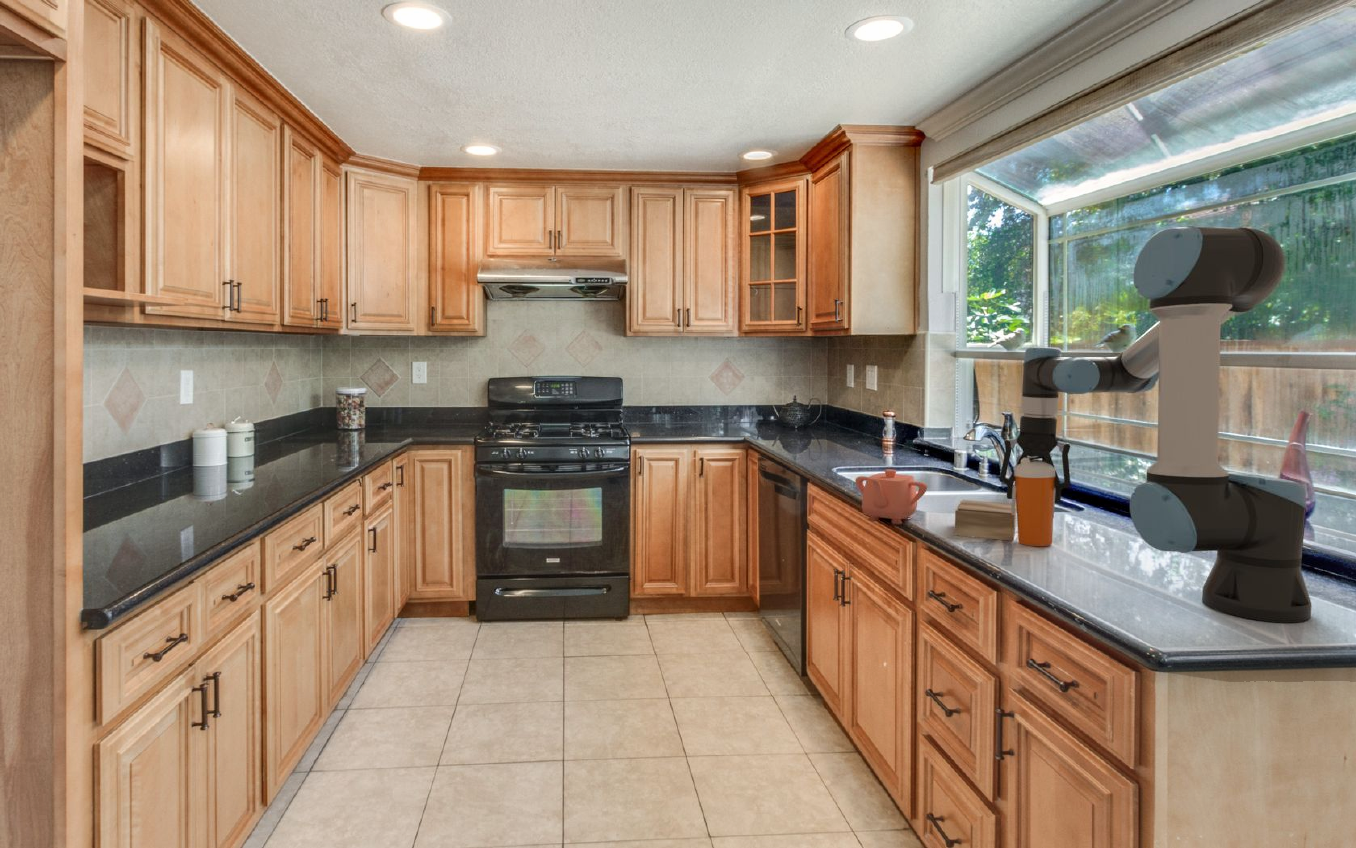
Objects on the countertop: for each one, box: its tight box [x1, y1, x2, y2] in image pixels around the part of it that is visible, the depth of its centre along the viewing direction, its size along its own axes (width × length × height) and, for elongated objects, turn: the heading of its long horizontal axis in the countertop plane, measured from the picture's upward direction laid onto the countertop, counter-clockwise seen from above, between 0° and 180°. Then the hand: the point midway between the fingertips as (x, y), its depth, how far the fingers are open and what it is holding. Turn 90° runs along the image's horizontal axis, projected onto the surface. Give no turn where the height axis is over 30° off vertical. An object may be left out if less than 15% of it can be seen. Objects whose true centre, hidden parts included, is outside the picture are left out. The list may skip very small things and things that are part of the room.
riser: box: [954, 499, 1017, 542], centre depth 190 cm, size 13×13×6 cm
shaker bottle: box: [1013, 455, 1057, 547], centre depth 179 cm, size 9×9×20 cm
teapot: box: [855, 468, 928, 525], centre depth 204 cm, size 17×16×13 cm
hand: (1032, 514), depth 179 cm, fingers open, 7 cm apart
